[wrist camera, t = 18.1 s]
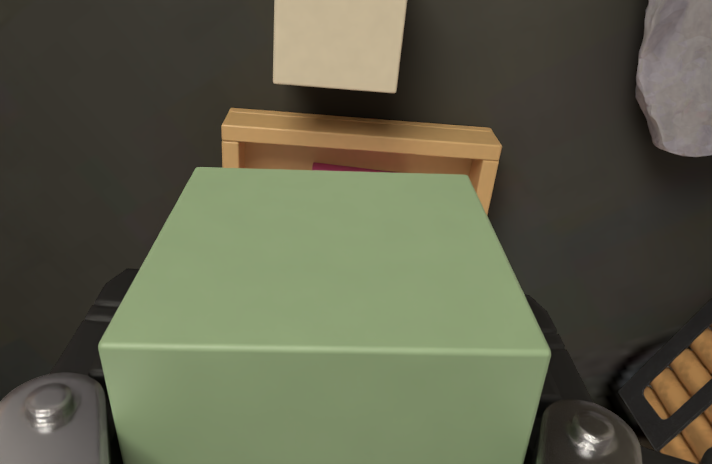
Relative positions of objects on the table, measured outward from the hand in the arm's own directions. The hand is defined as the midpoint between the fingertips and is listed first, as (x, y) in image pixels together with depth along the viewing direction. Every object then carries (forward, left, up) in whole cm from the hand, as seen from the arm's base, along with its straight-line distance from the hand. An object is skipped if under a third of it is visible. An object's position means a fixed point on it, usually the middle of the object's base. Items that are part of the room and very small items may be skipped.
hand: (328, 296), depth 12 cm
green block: (0, 0, -1) cm, 1 cm away
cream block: (-3, 0, -19) cm, 19 cm away
